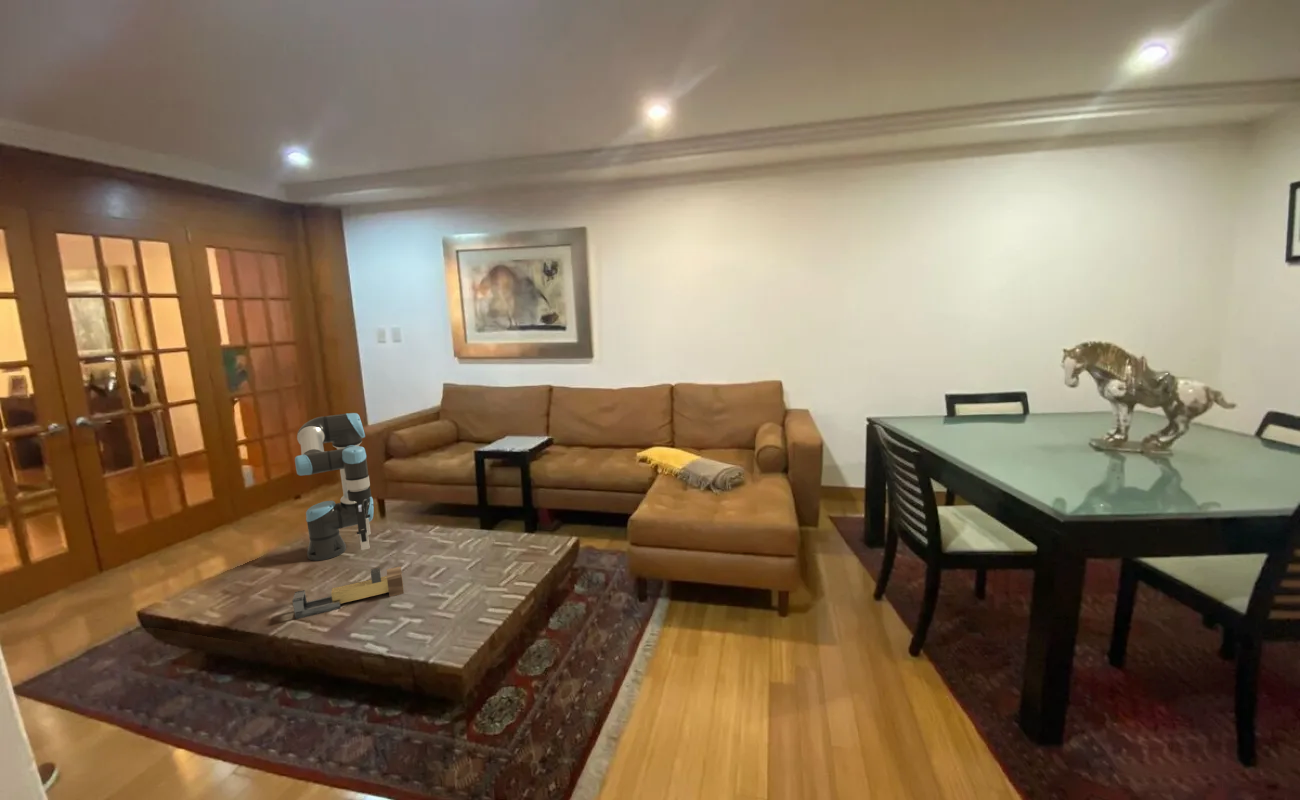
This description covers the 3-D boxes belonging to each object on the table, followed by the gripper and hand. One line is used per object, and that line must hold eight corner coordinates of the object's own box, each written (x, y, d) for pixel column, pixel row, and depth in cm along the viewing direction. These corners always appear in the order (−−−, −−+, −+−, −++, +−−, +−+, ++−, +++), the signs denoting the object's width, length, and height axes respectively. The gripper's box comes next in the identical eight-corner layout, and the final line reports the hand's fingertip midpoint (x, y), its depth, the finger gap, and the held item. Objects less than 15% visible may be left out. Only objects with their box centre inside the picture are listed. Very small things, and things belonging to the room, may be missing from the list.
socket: (389, 588, 208) (386, 569, 206) (403, 584, 210) (400, 566, 208) (389, 596, 201) (386, 577, 200) (403, 593, 204) (401, 574, 202)
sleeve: (298, 610, 194) (295, 592, 193) (341, 600, 200) (338, 582, 199) (295, 619, 189) (292, 600, 187) (340, 608, 195) (337, 590, 193)
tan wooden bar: (334, 600, 198) (330, 578, 196) (398, 585, 208) (395, 564, 206) (333, 605, 194) (329, 583, 193) (398, 589, 204) (395, 568, 202)
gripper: (349, 480, 204) (356, 531, 208) (344, 501, 182) (353, 557, 186) (370, 477, 207) (377, 527, 211) (369, 497, 185) (376, 552, 189)
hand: (366, 541), depth 198 cm, fingers open, 13 cm apart
